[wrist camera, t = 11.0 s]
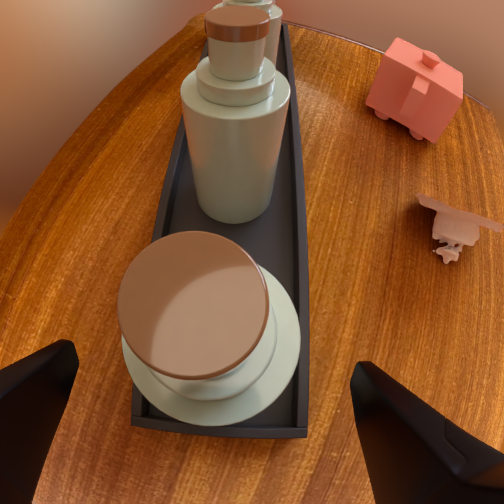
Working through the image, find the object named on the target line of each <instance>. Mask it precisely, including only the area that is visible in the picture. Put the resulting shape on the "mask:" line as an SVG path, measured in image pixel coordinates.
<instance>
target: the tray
mask: <svg viewBox="0 0 504 504" xmlns="http://www.w3.org/2000/svg"><path fill="white" fill-rule="evenodd" d="M206 57H208V38H207V41H206V43H205V46H204V49H203V52H202V55H201V57H200V60H199V63H200V61H202V60H203V59H204V58H206ZM199 63H198V64H199ZM276 70H277V71H279V72H280V73H281V74H282V75H283V76H284V77H285V78H286V79H287V81H288V83H289V85H290V89H291V94H290V99H289V105H288V110H287V116H286V121H285V127H284V132H283V138H282V143H281V149H280V154H279V159H278V165H277V170H276V176H275V181H274V186H273V192H272V197H271V201H270V204H269V205H268V207H267V209H266V210H265V211H264V212H263V213H262V214H261V215H260V216H258V217H257V218H255V219H253V220H251V221H248V222H245V223H239V224H228V223H223V222H219V221H217V220H215V219H213V218H211V217H209V216H208V215H207V214H206V213H205V212H204V211H203V210H202V209H201V207H200V206H199V204H198V201H197V197H196V192H195V186H194V180H193V174H192V168H191V162H190V156H189V150H188V143H187V137H186V130H185V124H184V117H183V113H182V116H181V120H180V123H179V127H178V130H177V134H176V137H175V141H174V145H173V149H172V152H171V156H170V160H169V164H168V168H167V172H166V176H165V180H164V185H163V189H162V193H161V198H160V202H159V207H158V212H157V216H156V221H155V226H154V231H153V236H152V242H151V244H152V243H153V242H155V241H157V240H158V239H160V238H163V237H165V236H168V235H170V234H174V233H178V232H185V231H203V232H209V233H214V234H217V235H220V236H223V237H225V238H227V239H229V240H231V241H233V242H235V243H236V244H238V245H239V246H241V247H242V248H243V249H244V250H245V251H246V252H247V253H249V255H250V256H251V257H252V258H253V259H254V260H255V262H256V263H257V264H258V265H260V266H261V267H263V268H264V269H265V270H267V271H268V272H269V273H270V274H271V275H273V276H274V277H275V278H276V279H277V281H278V282H279V283H280V284H281V285H282V286H283V288H284V289H285V291H286V292H287V294H288V295H289V297H290V299H291V301H292V303H293V305H294V307H295V310H296V313H297V316H298V320H299V325H300V334H301V344H300V354H299V359H298V363H297V366H296V369H295V371H294V374H293V376H292V378H291V380H290V382H289V384H288V385H287V387H286V388H285V389H284V391H283V392H282V394H281V395H280V396H279V397H278V398H277V399H276V400H275V401H274V402H273V403H272V404H271V405H270V406H268V407H267V408H266V409H265V410H263V411H262V412H260V413H258V414H257V415H255V416H253V417H251V418H249V419H246V420H244V421H241V422H238V423H234V424H230V425H223V426H200V425H194V424H190V423H186V422H183V421H180V420H177V419H175V418H173V417H171V416H169V415H167V414H165V413H164V412H162V411H161V410H159V409H158V408H156V407H155V406H154V405H153V404H152V403H150V402H149V401H148V400H147V399H146V398H145V396H144V395H143V394H142V393H141V392H140V390H139V389H138V388H137V386H136V385H135V383H134V382H133V390H132V407H131V425H132V426H137V427H143V428H148V429H154V430H161V431H168V432H175V433H183V434H192V435H202V436H214V437H228V438H253V439H290V438H307V431H308V428H307V426H308V404H309V274H308V245H307V223H306V204H305V188H304V174H303V160H302V148H301V136H300V125H299V115H298V105H297V95H296V86H295V78H294V69H293V61H292V53H291V46H290V39H289V31H288V25H287V24H282V23H281V29H280V37H279V45H278V53H277V60H276Z"/></svg>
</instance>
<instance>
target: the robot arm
mask: <svg viewBox="0 0 504 504" xmlns="http://www.w3.org/2000/svg"><path fill="white" fill-rule="evenodd" d="M78 368H79V359H78V356H77V353H76V349H75V346H74V343H73V342H72V341H70V340H66V339H60V340H58V341H56V342H54V343H52V344H50V345H48V346H46V347H44V348H42V349H40V350H38V351H36V352H35V353H33V354H31V355H29V356H27V357H25V358H23V359H21V360H19V361H17V362H15V363H13V364H11V365H9V366H7V367H5V368H3V369H1V370H0V504H32V502H31V501H33V497H34V494H35V490H36V487H37V484H38V481H39V478H40V475H41V472H42V469H43V466H44V463H45V460H46V457H47V454H48V452H49V449H50V446H51V443H52V441H53V438H54V435H55V433H56V430H57V428H58V425H59V423H60V420H61V418H62V415H63V413H64V410H65V408H66V405H67V403H68V400H69V396H70V393H71V390H72V386H73V383H74V380H75V377H76V374H77V371H78ZM350 390H351V396H352V403H353V409H354V416H355V423H356V428H357V432H358V436H359V440H360V443H361V447H362V451H363V455H364V458H365V462H366V466H367V470H368V474H369V478H370V482H371V486H372V490H373V495H374V499H375V503H376V504H504V454H503V453H501V452H500V451H498V450H496V449H494V448H492V447H491V446H489V445H487V444H485V443H484V442H482V441H480V440H479V439H477V438H475V437H474V436H472V435H470V434H469V433H467V432H466V431H464V430H463V429H461V428H460V427H458V426H457V425H455V424H454V423H453V422H451V421H450V420H449V419H447V418H446V419H445V417H444V416H443V415H442V414H440V413H439V412H438V411H436V410H435V409H434V408H432V407H431V406H429V405H428V404H427V403H425V402H424V401H423V400H421V399H420V398H419V397H417V396H416V395H415V394H413V393H412V392H411V391H409V390H408V389H407V388H405V387H404V386H403V385H401V384H400V383H399V382H397V381H396V380H395V379H393V378H392V377H391V376H389V375H388V374H387V373H385V372H384V371H383V370H381V369H380V368H379V367H377V366H376V365H375V364H373V363H372V362H371V361H359V362H357V364H356V366H355V369H354V372H353V375H352V378H351V381H350Z"/></svg>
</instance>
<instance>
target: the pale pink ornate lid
mask: <svg viewBox="0 0 504 504" xmlns="http://www.w3.org/2000/svg"><path fill="white" fill-rule="evenodd" d="M412 194H413V193H412ZM414 195H416V196H417V197H418V199H419V203H420V204H421V205H423V206H424V207H428V208H431V209H433V210H436V212H437V213H436V216H435V218H434V225H433V228H432V231H433V234H432V238H433V239H440V241H439V243H444V242H447V243H448V245H447V246H445V247H439V248H437V250H436V253H437V254H439V255H442V256H443V262H444V264H448V263H449V262H450V261H451V260H453V261H455V262H456V261H457V260H458V257H459V252H462V247H463V245H469V246H473V245H474V243H475V242H476V240H478V239H480V234H479V227H480V226H484V227H487V228H488V229H491V230H493V231H494V232H500V231H501V230H504V225H503V224H500V223H498V222H495V221H493V220H492V219H488V218H484V217H482V216H480V215H477V214H474V213H472V212H466V211H461V210H457V209H454V208H452V207H450V206H447V205H446V204H444V203H442V202H441V201H437V200H434V199H433V198H432V197H428V196H426V195H424V194H421V193H419V191H418V193H417V194H414ZM457 243H458V244H459V246H458V247H456V248H455V247H454V245H455V244H457ZM449 246H452V247H451V248H450V247H449ZM446 247H447V248H446ZM453 247H454V248H453ZM433 252H435V250H433Z"/></svg>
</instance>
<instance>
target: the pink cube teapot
mask: <svg viewBox="0 0 504 504" xmlns="http://www.w3.org/2000/svg"><path fill="white" fill-rule="evenodd" d="M462 101H463V74H461V73H460V72H459V71H457V70H455V69H454V68H452V67H451V66H449V65H447V64H446V63H444V62H443V61H441V60H440V58H439V57H438V56H436V55H435V54H433V53H432V52H430V51H427V50H422V49H420V48H418V47H416V46H414V45H412V44H410V43H408V42H406V41H404V40H402V39H400V38H397V37H396V38H395V40H394V41H393V43H392V44H391V46H390V47H389V48H388V50H387V51H386V53H385V54H384V56H383V58H382V61H381V63H380V66H379V69H378V71H377V74H376V76H375V79H374V82H373V84H372V87H371V89H370V92H369V94H368V97H367V100H366V102H365V104H366V105H368V106H370V107H372V108H374V109H376V110H375V111H374V112H375V114H376V116H378V117H379V118H381V119H384V120H387V119H389V118H392V119H394V120H396V121H397V122H399V123H401V124H403V125H404V126H406V127H408V128H410V129H409V132H410V134H411V135H412V136H413V137H414V138H415V139H418V140H422V139H423V137H424V138H426V139H427V140H429V141H431V142H432V143H434V144H435V143H436V141H437V140H438V138H439V137H440V135H441V134H442V132H443V131H444V129H445V128H446V126H447V125H448V123H449V122H450V120H451V119H452V117H453V116H454V114H455V112H456V111H457V109H458V108H459V106H460V104H461V103H462Z"/></svg>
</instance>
